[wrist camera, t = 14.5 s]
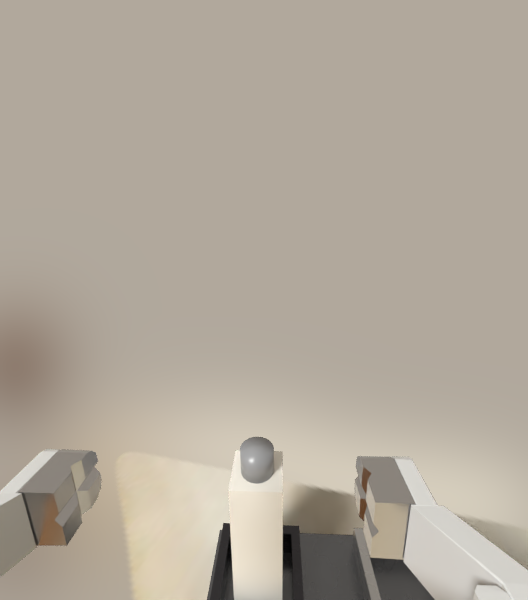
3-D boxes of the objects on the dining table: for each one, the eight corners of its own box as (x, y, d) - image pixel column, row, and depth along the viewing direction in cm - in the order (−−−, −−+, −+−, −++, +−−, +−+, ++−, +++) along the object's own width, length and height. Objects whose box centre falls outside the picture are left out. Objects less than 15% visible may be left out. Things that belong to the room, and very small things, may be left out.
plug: (281, 564, 29) (282, 431, 25) (282, 616, 25) (283, 469, 21) (240, 562, 29) (234, 430, 26) (234, 614, 26) (226, 468, 22)
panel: (429, 545, 32) (433, 519, 31) (495, 688, 22) (504, 657, 21) (220, 537, 33) (218, 511, 32) (196, 670, 23) (192, 639, 22)
